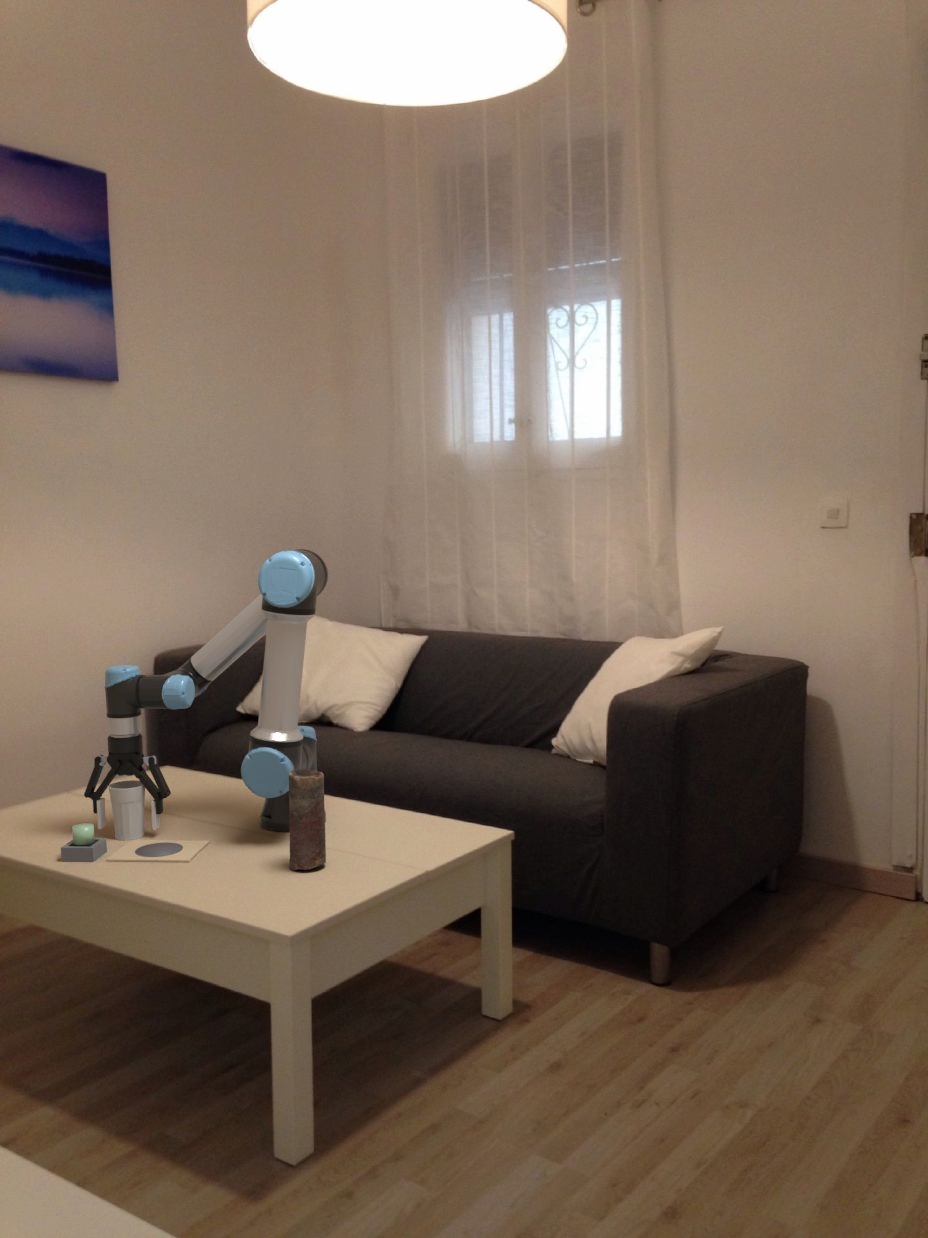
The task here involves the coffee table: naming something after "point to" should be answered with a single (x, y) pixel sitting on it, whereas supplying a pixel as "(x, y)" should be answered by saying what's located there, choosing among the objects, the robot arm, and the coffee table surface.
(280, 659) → the robot arm
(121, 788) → the cup
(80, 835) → the button
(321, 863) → the brown tall cylinder
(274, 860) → the coffee table surface
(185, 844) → the sheet
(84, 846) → the button housing
